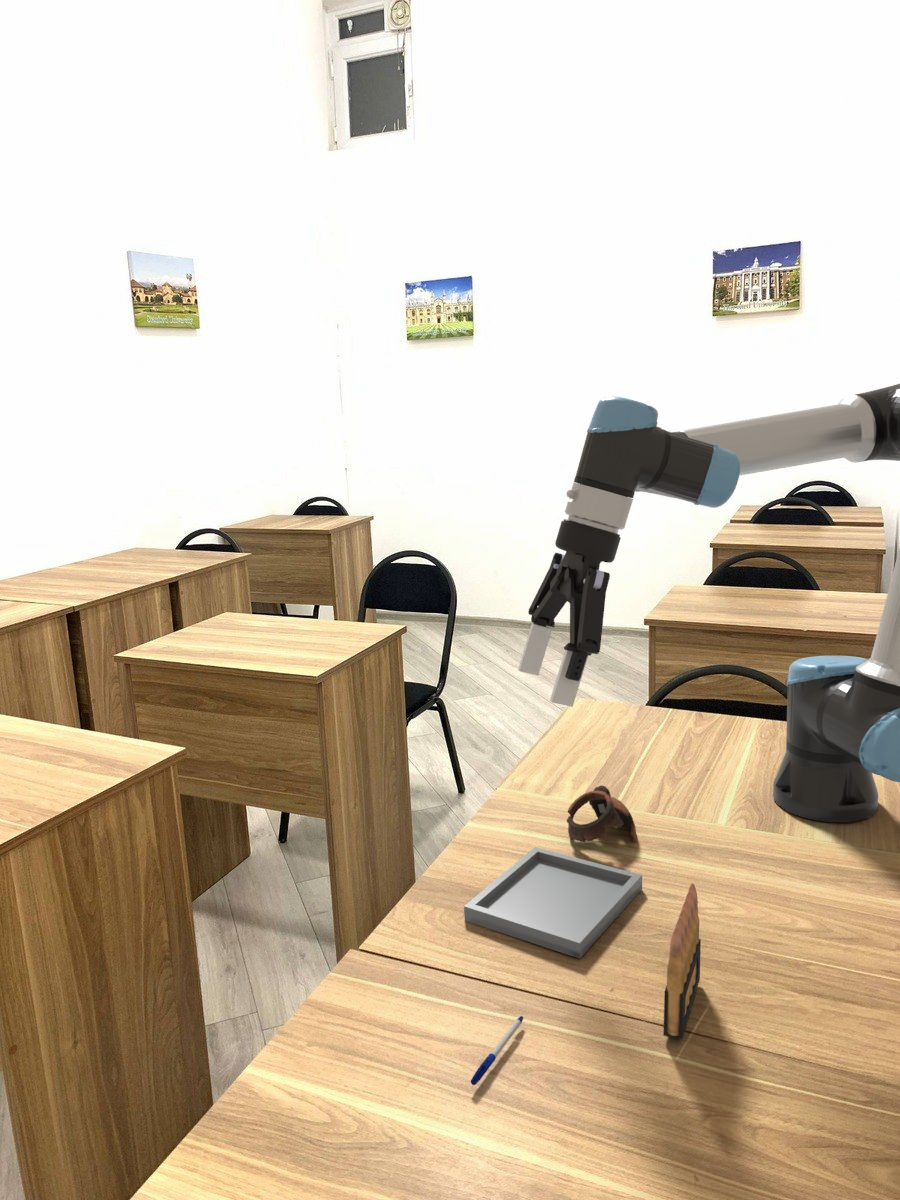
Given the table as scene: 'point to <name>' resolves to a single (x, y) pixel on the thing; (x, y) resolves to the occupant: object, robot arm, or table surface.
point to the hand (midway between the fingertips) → (543, 687)
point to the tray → (554, 901)
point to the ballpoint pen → (495, 1052)
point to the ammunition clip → (682, 968)
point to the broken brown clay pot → (600, 816)
